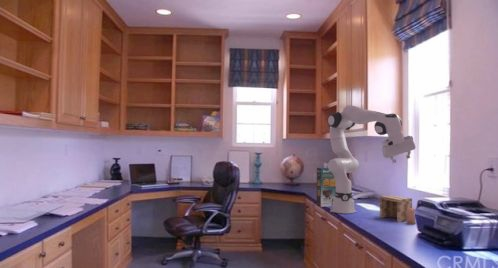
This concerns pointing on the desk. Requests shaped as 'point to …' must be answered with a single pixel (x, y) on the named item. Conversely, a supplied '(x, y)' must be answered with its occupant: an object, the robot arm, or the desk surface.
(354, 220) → the desk surface
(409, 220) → the peach rounded capsule
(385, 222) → the desk surface
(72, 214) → the desk surface
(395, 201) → the wooden shelf
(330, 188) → the cake mix box
